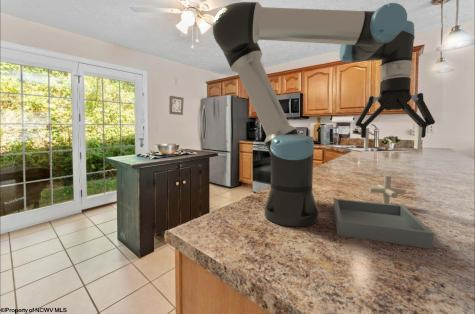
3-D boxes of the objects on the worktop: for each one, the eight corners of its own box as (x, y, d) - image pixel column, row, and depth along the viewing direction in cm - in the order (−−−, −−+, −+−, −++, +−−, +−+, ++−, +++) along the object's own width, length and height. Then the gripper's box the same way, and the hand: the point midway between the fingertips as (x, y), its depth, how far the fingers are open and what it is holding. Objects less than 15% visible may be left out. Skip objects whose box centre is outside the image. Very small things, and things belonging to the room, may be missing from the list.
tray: (337, 234, 51) (337, 221, 51) (333, 209, 68) (334, 198, 68) (432, 249, 45) (433, 233, 45) (402, 216, 62) (403, 205, 61)
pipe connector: (411, 212, 65) (414, 179, 64) (375, 210, 67) (377, 178, 66) (394, 201, 74) (397, 173, 73) (363, 200, 76) (365, 172, 75)
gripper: (350, 80, 67) (347, 148, 69) (455, 71, 58) (447, 149, 60) (348, 85, 74) (345, 147, 76) (441, 77, 65) (434, 147, 67)
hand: (390, 148), depth 68 cm, fingers open, 13 cm apart
